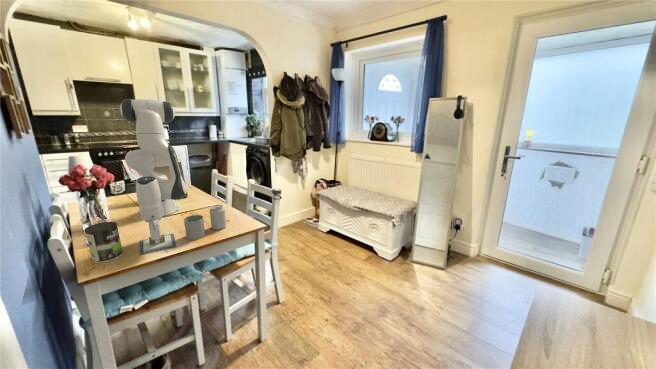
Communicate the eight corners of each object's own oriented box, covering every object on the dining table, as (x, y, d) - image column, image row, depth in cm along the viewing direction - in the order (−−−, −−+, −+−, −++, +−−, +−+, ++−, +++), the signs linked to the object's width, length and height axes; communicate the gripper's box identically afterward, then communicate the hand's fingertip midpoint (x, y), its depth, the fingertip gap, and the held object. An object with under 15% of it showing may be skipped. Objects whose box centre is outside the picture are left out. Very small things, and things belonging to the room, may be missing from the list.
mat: (139, 241, 124) (139, 240, 124) (173, 234, 132) (173, 233, 132) (139, 256, 112) (139, 255, 112) (176, 247, 119) (176, 246, 119)
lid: (143, 241, 123) (142, 235, 122) (170, 236, 129) (169, 229, 128) (143, 252, 114) (142, 245, 114) (172, 245, 120) (171, 238, 120)
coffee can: (129, 250, 117) (122, 221, 113) (112, 263, 107) (105, 231, 103) (104, 250, 116) (97, 221, 112) (85, 263, 106) (77, 232, 102)
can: (217, 231, 135) (215, 210, 132) (208, 228, 139) (206, 207, 136) (229, 226, 142) (227, 205, 138) (220, 223, 145) (218, 203, 142)
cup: (197, 241, 125) (195, 222, 122) (182, 239, 127) (179, 220, 124) (208, 233, 133) (206, 215, 130) (194, 232, 135) (192, 214, 132)
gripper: (161, 219, 111) (166, 248, 115) (159, 204, 127) (163, 230, 131) (143, 222, 108) (149, 252, 111) (143, 207, 124) (148, 233, 128)
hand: (157, 240), depth 121 cm, fingers closed on lid, 3 cm apart
